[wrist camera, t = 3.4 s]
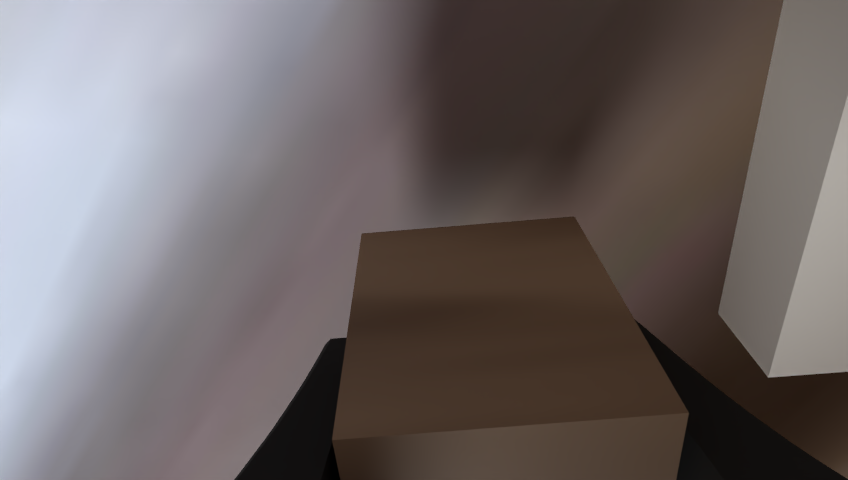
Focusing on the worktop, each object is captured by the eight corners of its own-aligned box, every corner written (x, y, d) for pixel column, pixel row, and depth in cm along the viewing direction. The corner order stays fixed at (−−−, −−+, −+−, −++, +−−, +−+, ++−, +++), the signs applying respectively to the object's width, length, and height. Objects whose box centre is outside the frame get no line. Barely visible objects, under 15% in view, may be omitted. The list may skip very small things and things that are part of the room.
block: (565, 379, 13) (650, 617, 8) (384, 393, 13) (373, 636, 8) (574, 216, 11) (689, 412, 6) (361, 233, 11) (332, 440, 7)
